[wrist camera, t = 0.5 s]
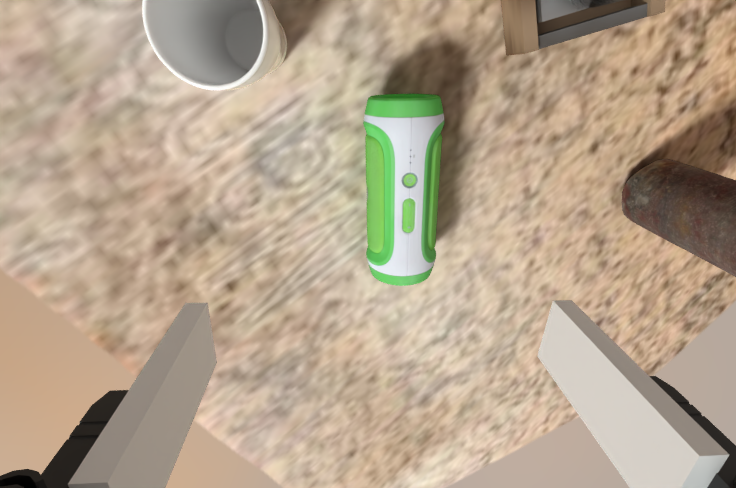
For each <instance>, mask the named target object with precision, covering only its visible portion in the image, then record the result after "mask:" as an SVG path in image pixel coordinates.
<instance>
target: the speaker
mask: <svg viewBox="0 0 736 488" xmlns="http://www.w3.org/2000/svg"><path fill="white" fill-rule="evenodd" d="M443 126H444V113H443V107H442V102H441V98H440V96H438V95H432V94H386V95H375V96H371V97H369V99H368V101H367V106H366V110H365V116H364V127H365V130H366V133H367V135H366V183H367V237H368V248H367V252H366V255H367V260H368V264H369V267H370V270H371V273H372V275H373V276H374V277H375V278H376V279H378V280H379V281H381V282H384V283H387V284H391V285H400V286H402V285H413V284H417V283H420V282H422V281H424V280H426V279H427V278H428V277H429V275H430V273H431V271H432V268H433V266H434V262H435V258H436V251H435V248H434V247H435V243H436V226H437V209H438V193H439V176H440V162H441V146H442V135H441V131H442V128H443Z"/></svg>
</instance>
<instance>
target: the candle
mask: <svg viewBox="0 0 736 488" xmlns="http://www.w3.org/2000/svg"><path fill="white" fill-rule="evenodd" d="M622 210H623V213H624V215H625V216H626V217H627V218H629V219H630V220H631V221H633V222H634V223H636V224H638V225H640V226H642V227H643V228H645V229H647V230H649V231H651V232H652V233H654V234H656V235H658V236H660V237H662V238H664V239H666V240H667V241H669V242H671V243H673V244H675V245H677V246H679V247H681V248H683V249H685V250H687V251H689V252H690V253H692V254H694V255H696V256H698V257H700V258H702V259H703V260H705V261H707V262H709V263H711V264H713V265H715V266H717V267H719V268H720V269H722V270H724V271H726V272H728V273H730V274H732V275H733V276H735V277H736V180H733V179H730V178H726V177H724V176H721V175H718V174H715V173H711V172H708V171H705V170H702V169H699V168H696V167H693V166H689V165H686V164H683V163H680V162H676V161H673V160H669V159H662V160H657V161H654V162H652V163H651V164H650V165H648V166H646V167H644V168H642V169H641V170H639V171H638V172H637V173H635V174H634V175H633V176H632V177H630V179H629V180H628V181H627V182H626V185H625V187H624V189H623V192H622Z"/></svg>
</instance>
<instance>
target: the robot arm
mask: <svg viewBox="0 0 736 488" xmlns="http://www.w3.org/2000/svg"><path fill="white" fill-rule="evenodd" d="M538 358H539V359H540V361H541V362H542V363H543V365H544V366H545V368H546V369H547V371H548V372H549V373H550V375H551V376H552V378H553V379H554V380H555V382H556V383H557V385H558V386H559V388H560V389H561V390H562V392H563V393H564V395H565V396H566V398H567V399H568V400H569V402H570V403H571V405H572V406H573V408H574V409H575V410H576V412H577V413H578V415H579V416H580V417H581V419H582V420H583V422H584V423H585V425H586V426H587V427H588V429H589V430H590V432H591V433H592V435H593V436H594V437H595V439H596V440H597V442H598V443H599V445H600V446H601V447H602V449H603V450H604V451H605V453H606V454H607V456H608V457H609V459H610V460H611V461H612V463H613V464H614V466H615V467H616V469H617V470H618V472H619V473H620V474H621V476H622V477H623V478H624V480H625V482H626V483H627V484H628V486H629V487H630V488H736V446H735V445H734V444H733V443H732V442H731V441H730V440H729V439H728V438H727V437H726V436H725V435H724V434H723V433H722V432H721V431H719V430H718V429H717V428H716V427H715V426H714V425H713V424H712V423H711V422H710V421H709V420H708V419H707V418H705V417H704V416H702V415H701V413H700V412H699V411H698V410H697V409H696V408H695V407H694V406H693V405H690V404H689V402H688V400H686V399H685V398H684V397H683V396H682V395H681V394H680V393H679V392H678V391H677V390H676V389H675V388H673V387H672V386H670V385H669V384H667V383H666V382H664V381H662V380H661V379H659V378H658V377H656V376H648V375H647V374H646V373H645V372H644V371H643V370H642V369H641V368H640V367H639V366H638V365H637V364H636V363H635V362H634V361H633V360H632V359H631V358H630V357H629V356H628V355H627V354H626V353H625V352H624V351H623V350H622V349H621V348H620V347H619V346H618V345H617V344H616V343H615V342H614V341H613V340H612V339H611V338H610V337H609V336H608V335H607V334H605V333H604V332H603V331H602V330H601V329H600V328H599V327H598V326H597V325H596V324H595V323H594V322H593V321H592V320H591V319H590V318H589V317H588V316H587V315H586V314H585V313H584V312H583V311H582V310H581V309H580V308H579V307H578V306H577V305H576V304H575V303H574V302H573V301H572V300H563V301H553V303H552V306H551V310H550V313H549V317H548V320H547V324H546V327H545V331H544V334H543V338H542V341H541V345H540V349H539V352H538ZM216 363H217V360H216V354H215V348H214V341H213V335H212V328H211V322H210V316H209V309H208V303H185V305H184V306H183V308H182V309H181V311H180V312H179V314H178V315H177V317H176V318H175V320H174V322H173V323H172V325H171V326H170V328H169V329H168V331H167V332H166V334H165V335H164V337H163V338H162V340H161V342H160V343H159V345H158V346H157V348H156V349H155V351H154V352H153V354H152V355H151V357H150V358H149V360H148V362H147V363H146V365H145V366H144V368H143V369H142V371H141V372H140V374H139V375H138V377H137V378H136V380H135V382H134V383H133V385H132V386H131V388H130V389H129V390H123V391H121V390H119V391H109V392H108V393H107V394H105V395H104V396H103V397H102V398H100V399H99V400H98V401H97V402H95V403H94V404H93V405H92V406H91V407H90V409H89V410H88V411H87V413H86V414H85V416H84V417H83V418H82V420H81V421H80V424H79V425H77V426H76V428H75V429H74V430H73V432H72V433H71V435H70V437H69V439H68V440H66V442H65V443H64V444H63V446H62V447H61V448H60V450H59V451H58V453H57V454H56V455H55V456H54V458H53V459H52V461H51V462H50V463H49V465H48V466H47V467H46V469H45V470H44V472H43V473H42V474H41V475H40V474H39V472H37V471H34V470H29V469H24V470H16V471H12V472H9V473H7V474H4V475H2V476H0V488H165V487H166V485H167V482H168V480H169V477H170V475H171V472H172V470H173V468H174V465H175V463H176V460H177V458H178V456H179V453H180V451H181V448H182V446H183V443H184V441H185V438H186V436H187V433H188V431H189V429H190V426H191V424H192V421H193V419H194V417H195V414H196V412H197V409H198V407H199V404H200V402H201V400H202V397H203V395H204V392H205V390H206V387H207V385H208V382H209V380H210V378H211V375H212V373H213V370H214V368H215V365H216Z"/></svg>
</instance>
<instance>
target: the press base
mask: <svg viewBox="0 0 736 488" xmlns="http://www.w3.org/2000/svg"><path fill="white" fill-rule="evenodd" d="M501 7H502V17H503V26H504V36H505V46H506V55H515V54H525V53H529V52H532V51H535V50H539V49H541V48H544V47H547V46H551V45H554V44H557V43H561V42H564V41H567V40H571V39H574V38H577V37H581V36H584V35H588V34H591V33H594V32H598V31H601V30H604V29H608V28H611V27H614V26H618V25H621V24H624V23H628V22H631V21H634V20H638V19H641V18H644V17H648V16H653V15H656V14H659V13H663V12H665V0H623V1H619V2H615V3H611V4H607V5H603V6H599V7H594V8H587V9H584V10H580V11H577V12H574V13H570V14H567V15H564V16H560V17H557V18H554V19H550V20H547V21H544V22H540V23H537V18H536V4H535V0H501Z"/></svg>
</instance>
